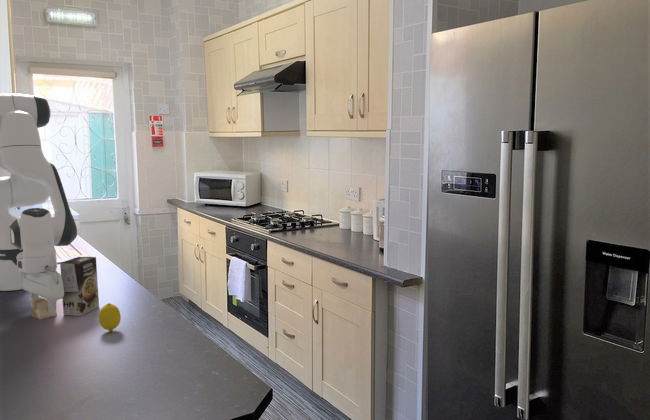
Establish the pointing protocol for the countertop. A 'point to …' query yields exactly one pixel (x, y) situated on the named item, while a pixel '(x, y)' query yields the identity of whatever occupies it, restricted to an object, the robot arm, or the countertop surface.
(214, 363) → the countertop surface
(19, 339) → the countertop surface
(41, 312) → the beech cube
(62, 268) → the coffee box
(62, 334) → the countertop surface
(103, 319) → the lemon
